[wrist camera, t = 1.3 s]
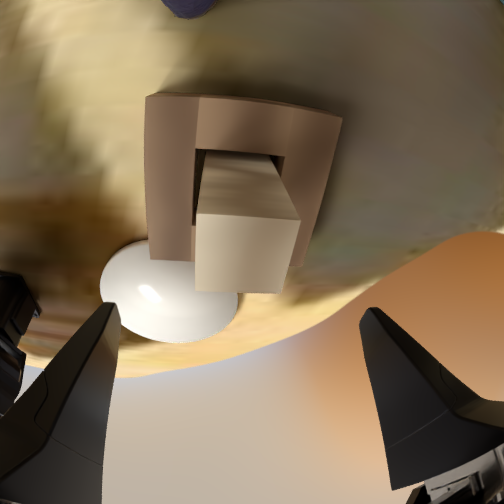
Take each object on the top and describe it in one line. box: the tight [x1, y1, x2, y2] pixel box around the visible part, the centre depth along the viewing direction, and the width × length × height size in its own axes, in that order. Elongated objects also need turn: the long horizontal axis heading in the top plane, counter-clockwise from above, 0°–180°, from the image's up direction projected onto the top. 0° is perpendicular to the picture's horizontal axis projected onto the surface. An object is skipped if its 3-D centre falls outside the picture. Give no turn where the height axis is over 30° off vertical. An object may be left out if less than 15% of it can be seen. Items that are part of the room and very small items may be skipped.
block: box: [195, 149, 301, 294], centre depth 15 cm, size 4×4×9 cm
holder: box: [144, 93, 343, 267], centre depth 18 cm, size 11×11×2 cm
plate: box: [100, 240, 238, 343], centre depth 25 cm, size 13×13×1 cm
